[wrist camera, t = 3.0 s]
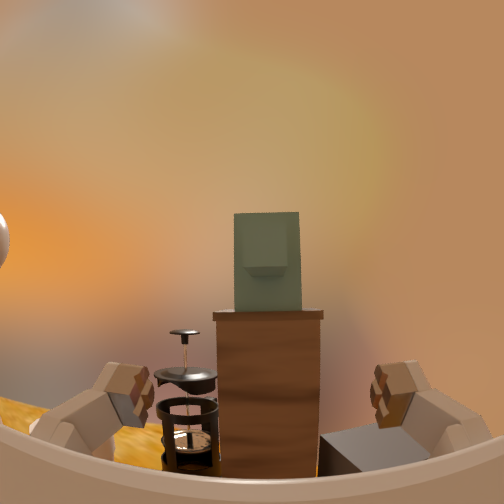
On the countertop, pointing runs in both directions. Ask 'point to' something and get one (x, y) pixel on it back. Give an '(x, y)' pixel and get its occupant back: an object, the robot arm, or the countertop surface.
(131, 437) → the countertop surface
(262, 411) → the stand
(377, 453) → the riser
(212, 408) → the french press
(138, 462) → the countertop surface
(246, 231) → the green mallet
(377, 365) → the robot arm
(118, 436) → the countertop surface
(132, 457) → the countertop surface
